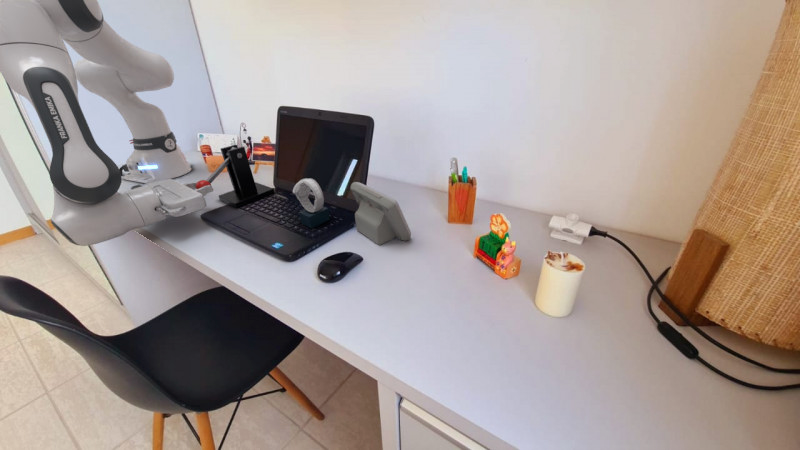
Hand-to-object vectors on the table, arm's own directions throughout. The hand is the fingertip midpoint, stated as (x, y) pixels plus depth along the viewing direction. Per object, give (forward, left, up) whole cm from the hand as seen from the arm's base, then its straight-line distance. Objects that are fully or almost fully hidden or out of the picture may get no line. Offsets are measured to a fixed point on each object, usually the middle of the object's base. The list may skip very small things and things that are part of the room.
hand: (207, 185), depth 87 cm
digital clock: (+50, -4, -7) cm, 51 cm away
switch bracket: (+4, +9, -7) cm, 12 cm away
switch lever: (+2, +5, +1) cm, 5 cm away
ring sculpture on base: (+32, -2, -7) cm, 33 cm away
